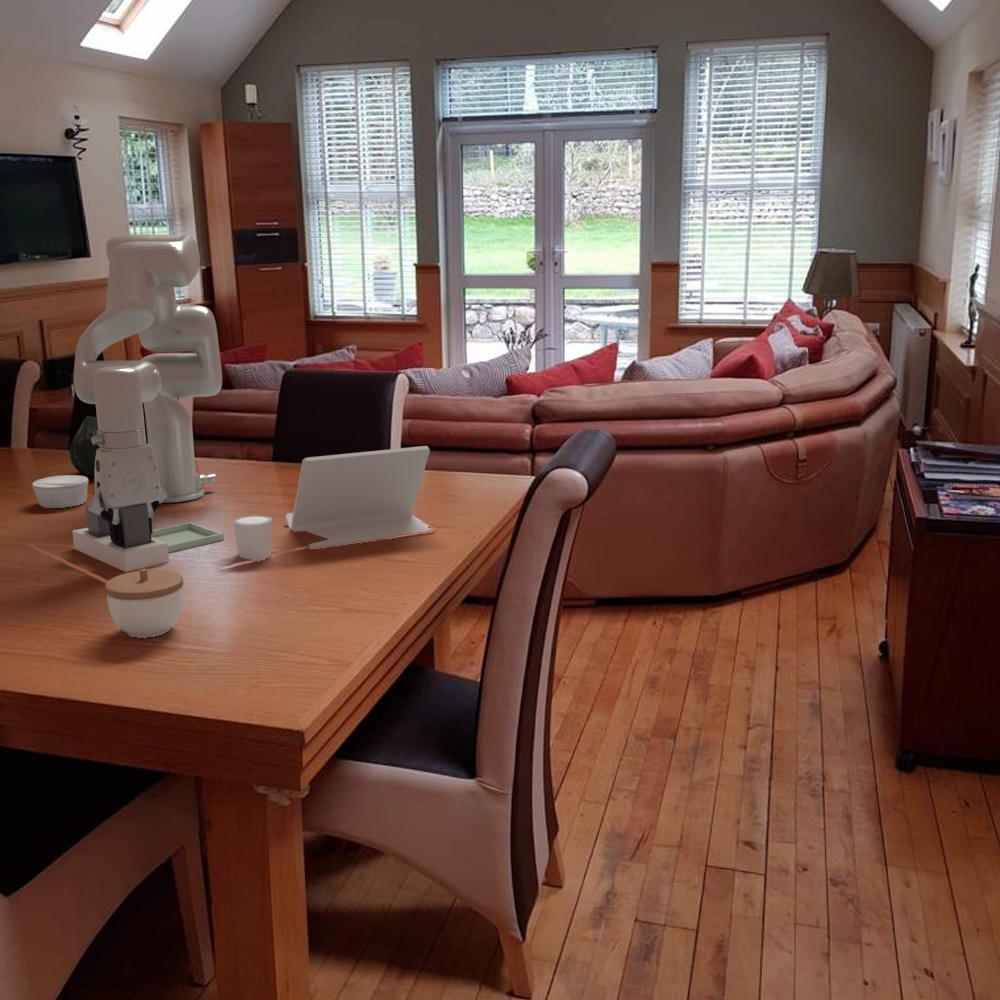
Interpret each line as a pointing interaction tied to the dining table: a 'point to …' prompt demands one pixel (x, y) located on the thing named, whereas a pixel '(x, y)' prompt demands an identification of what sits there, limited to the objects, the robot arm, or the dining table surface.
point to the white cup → (254, 537)
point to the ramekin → (61, 491)
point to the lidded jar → (145, 601)
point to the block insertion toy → (103, 549)
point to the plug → (135, 525)
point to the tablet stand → (359, 496)
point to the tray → (186, 536)
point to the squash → (85, 447)
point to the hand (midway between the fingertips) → (132, 540)
